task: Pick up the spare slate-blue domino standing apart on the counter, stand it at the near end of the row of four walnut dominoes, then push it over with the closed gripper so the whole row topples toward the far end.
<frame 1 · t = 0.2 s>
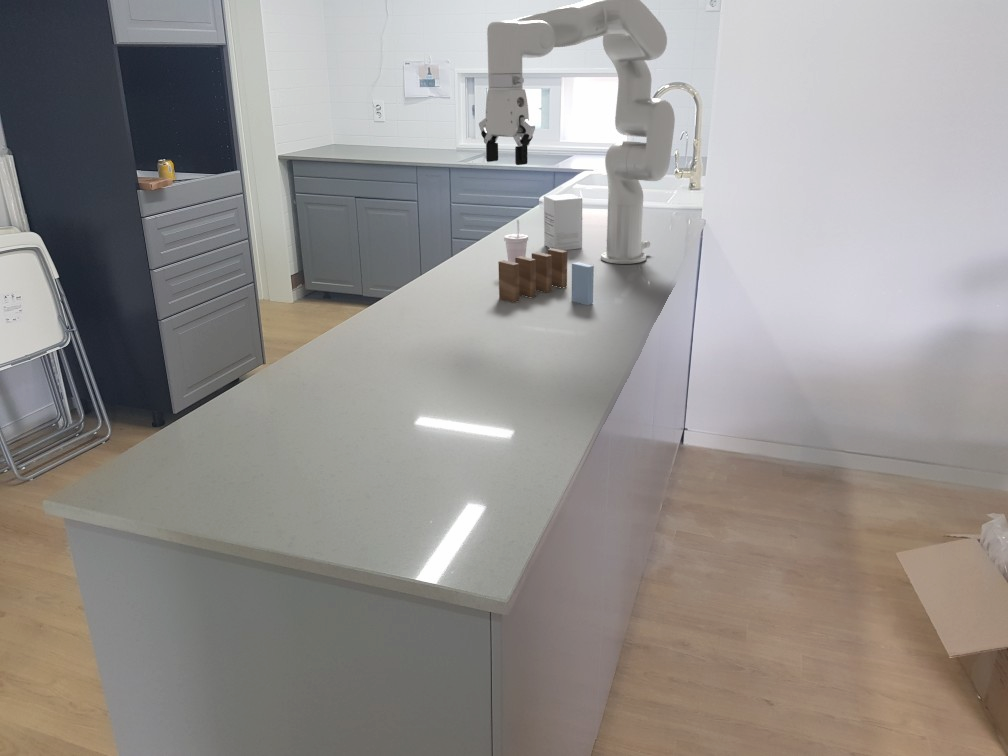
hand: (506, 162, 178), 31 cm above the worktop, tool pointing down, fingers open, 9 cm apart
tile4: (525, 295, 188), on the worktop
tile3: (541, 290, 192), on the worktop
supplement box: (562, 247, 235), on the worktop
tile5: (509, 299, 185), on the worktop
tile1: (582, 302, 181), on the worktop
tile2: (557, 285, 195), on the worktop
smoothie: (516, 273, 208), on the worktop
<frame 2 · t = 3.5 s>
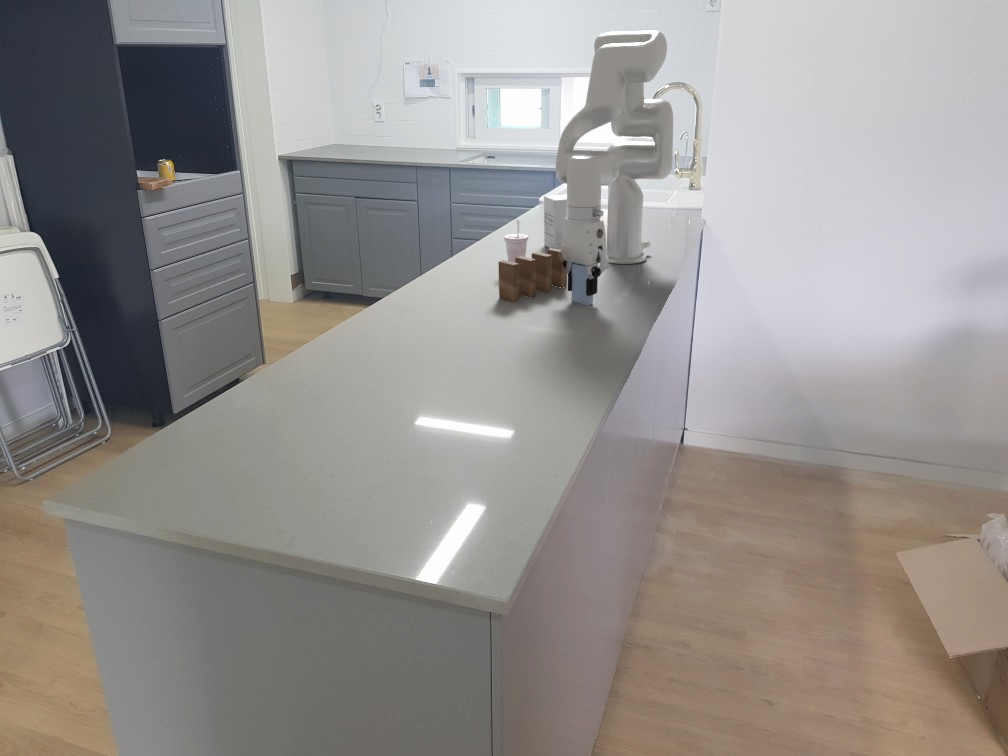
hand: (582, 291, 180), 3 cm above the worktop, tool pointing down, fingers closed on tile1, 4 cm apart
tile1: (582, 302, 181), on the worktop, touching gripper
everything else where it was.
when the fingers open (4 cm above the worktop, at t = 8.8 s): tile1 drops 1 cm, on the worktop.
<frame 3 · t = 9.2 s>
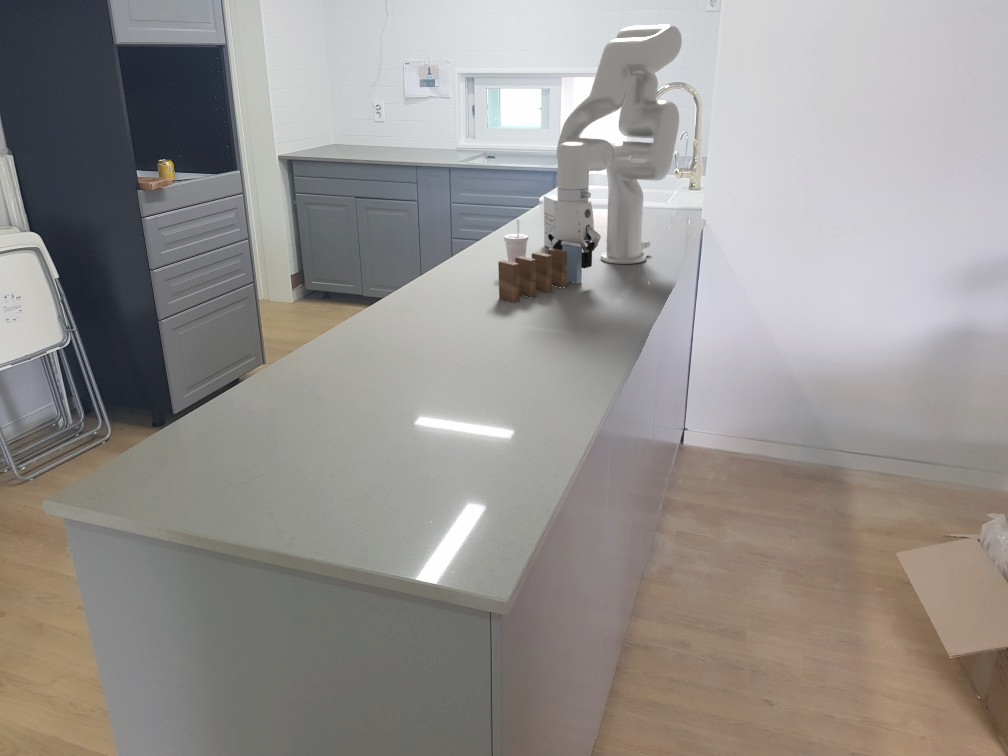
hand: (572, 264, 197), 4 cm above the worktop, tool pointing down, fingers open, 9 cm apart
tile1: (571, 281, 198), on the worktop
everything else where it was.
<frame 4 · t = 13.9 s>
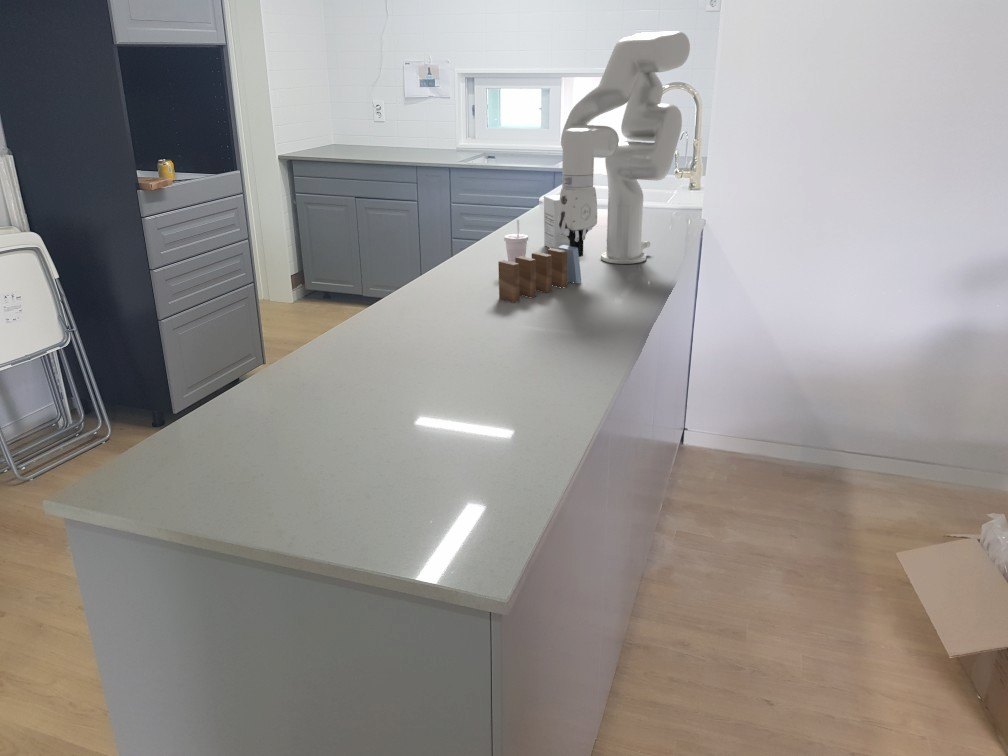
hand: (576, 255, 197), 6 cm above the worktop, tool pointing down, fingers closed
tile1: (571, 280, 198), on the worktop, tilted 10°
everything else where it was.
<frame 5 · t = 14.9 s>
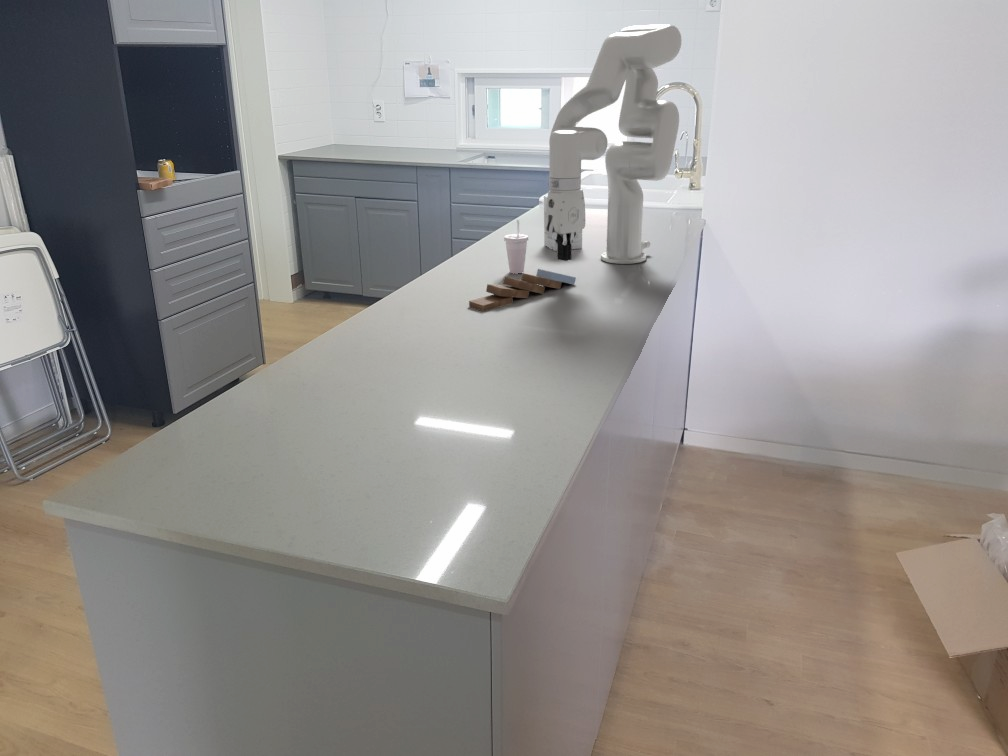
hand: (564, 259, 194), 6 cm above the worktop, tool pointing down, fingers closed
tile4: (521, 292, 187), point 1 cm above the worktop, tilted 75°, touching tile3, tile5
tile3: (536, 288, 190), point 1 cm above the worktop, tilted 69°, touching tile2, tile4
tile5: (505, 298, 184), on the worktop, tilted 90°, touching tile4
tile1: (567, 279, 197), point 1 cm above the worktop, tilted 71°, touching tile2
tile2: (553, 283, 194), point 1 cm above the worktop, tilted 71°, touching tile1, tile3
everything else where it was.
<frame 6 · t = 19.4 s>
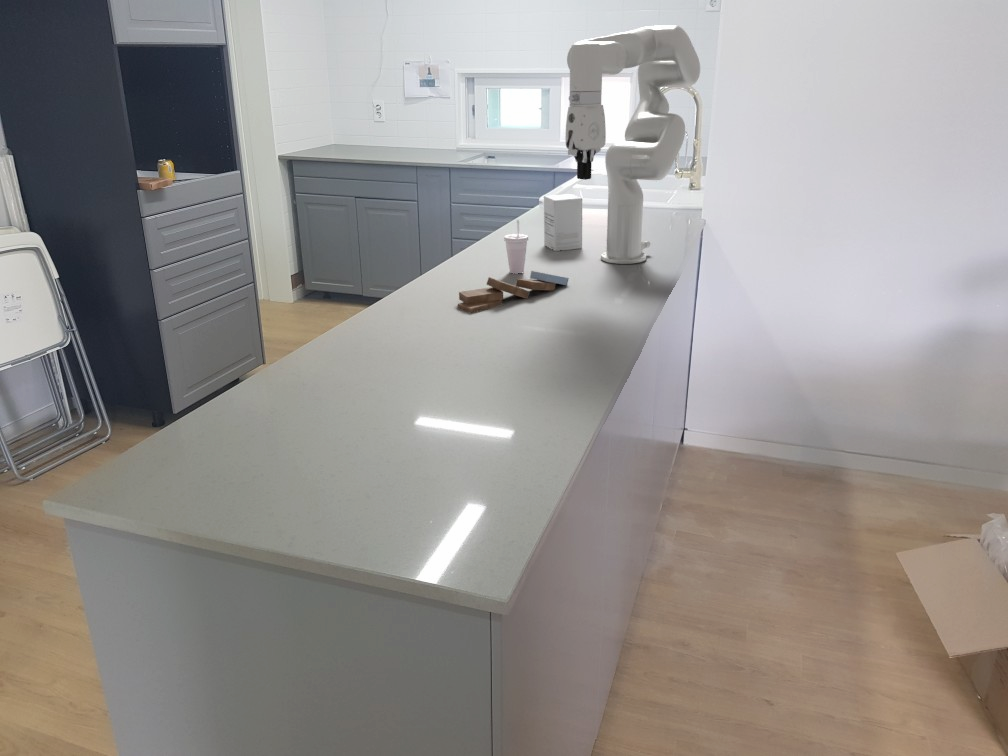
hand: (584, 178, 191), 25 cm above the worktop, tool pointing down, fingers closed
tile4: (498, 293, 183), point 2 cm above the worktop, tilted 90°, touching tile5
tile3: (522, 292, 187), point 1 cm above the worktop, tilted 65°, touching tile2
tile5: (495, 302, 183), on the worktop, tilted 90°, touching tile4
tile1: (559, 280, 197), point 1 cm above the worktop, tilted 71°, touching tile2
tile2: (547, 285, 193), point 1 cm above the worktop, tilted 76°, touching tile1, tile3
everything else where it was.
at the end: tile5 tilted 90°; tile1 tilted 72° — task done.
